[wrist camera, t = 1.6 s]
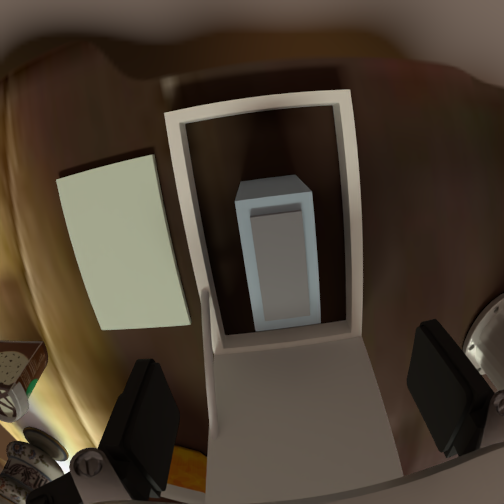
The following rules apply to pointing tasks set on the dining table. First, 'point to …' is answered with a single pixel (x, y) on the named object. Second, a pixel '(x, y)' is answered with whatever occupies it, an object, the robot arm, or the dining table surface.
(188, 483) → the bucket of meat
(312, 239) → the box
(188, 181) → the case
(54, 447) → the apothecary jar
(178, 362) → the dining table surface
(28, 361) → the food container
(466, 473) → the robot arm
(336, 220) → the dining table surface
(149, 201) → the mat
